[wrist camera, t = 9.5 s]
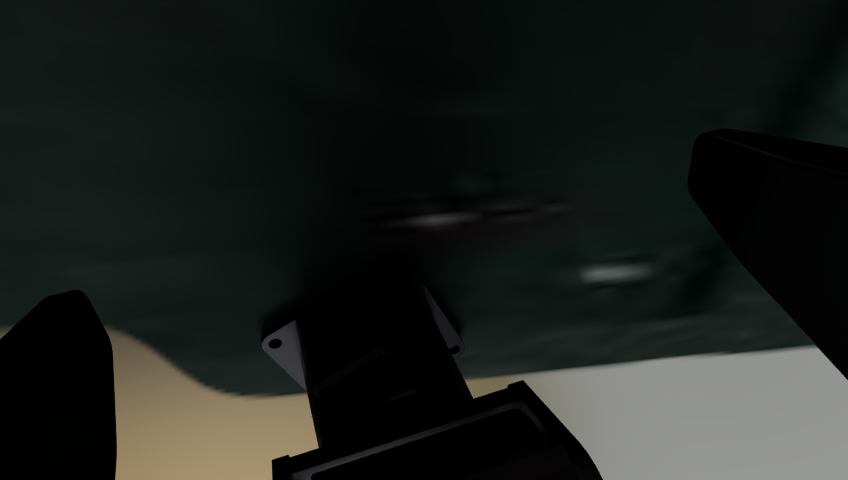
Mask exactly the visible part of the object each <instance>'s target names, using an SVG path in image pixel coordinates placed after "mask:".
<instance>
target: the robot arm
mask: <svg viewBox="0 0 848 480" xmlns="http://www.w3.org/2000/svg"><path fill="white" fill-rule="evenodd" d="M688 189H689V192H690V195H691V196H692V198H693V199H694V201H695V202H696V203H697V205H698V206H699V207H700V209H701V210H702V211H703V213H704V214H705V215H706V217H707V218H708V220H709V221H710V222H711V224H712V225H713V226H714V228H715V229H716V230H717V232H718V233H719V234H720V236H721V237H722V238H723V240H724V241H725V242H726V244H727V245H728V246H729V248H730V249H731V250H732V252H733V253H734V255H735V256H736V257H737V258H738V260H739V261H740V262H741V263H742V265H743V266H744V267H745V268H746V269H747V271H748V272H749V273H750V274H751V275H752V276H753V277H754V279H755V280H756V281H757V282H758V283H759V284H760V285H761V286H762V287H763V288H764V289H765V291H766V292H767V293H768V294H769V295H770V296H771V297H772V298H773V299H774V300H775V301H776V302H777V304H778V305H779V306H780V307H781V308H782V309H783V310H784V311H785V312H786V313H787V314H788V316H789V317H790V318H791V319H792V320H793V321H794V322H795V323H796V324H797V325H798V326H799V328H800V329H801V330H802V331H803V332H804V333H805V334H806V335H807V336H808V337H809V338H810V340H811V341H812V342H813V343H814V344H815V345H816V346H817V347H818V348H819V349H820V350H821V351H822V353H823V354H824V355H825V356H826V357H827V358H828V359H829V360H830V361H831V362H832V363H833V365H834V366H835V367H836V368H837V369H838V370H839V371H840V372H841V373H842V374H843V375H844V377H846V379H847V380H848V148H844V147H838V146H832V145H826V144H820V143H813V142H807V141H801V140H795V139H789V138H782V137H776V136H770V135H764V134H758V133H752V132H745V131H739V130H733V129H726V128H724V129H718V130H714V131H710V132H706V133H703V134H701V135H699V136H698V137H697V139H696V140H695V142H694V146H693V152H692V158H691V164H690V169H689V175H688ZM397 264H401V266H400V267H399V268H397V269H392V268H393V267H394V266H395V265H397ZM273 339H279V340H278V341H276V342H271V340H273ZM261 342H262V348H263V349H264V351H265V352H266V353H267V354H268V355H270V356H271V357H272V358H273V359H274V360H275V361H276V362H277V363H278V364H279V365H280V366H281V367H282V368H283V369H284V370H285V371H286V372H287V373H288V374H289V375H290V376H292V377H293V378H294V379H295V380H296V381H297V382H298V383H299V384H300V385H301V386H302V387H303V388H304V389H305V390H306V391H307V394H308V399H309V403H310V408H311V413H312V417H313V423H314V427H315V432H316V437H317V442H318V447H319V448H318V449H315V450H312V451H308V452H306V453H302V454H299V455H296V456H293V457H289V455H286V456H283V457H280V458H277V459H273V460H272V477H273V480H603V479H602V477H601V475H600V473H599V471H598V469H597V467H596V465H595V464H594V462H593V461H592V459H591V457H590V456H589V454H588V453H587V452H586V450H585V449H584V448H583V447H582V445H581V444H580V442H579V441H578V440H577V439H576V438H575V437H574V436H573V435H572V434H571V433H570V431H569V430H567V428H566V427H565V426H564V425H563V424H562V423H561V422H560V421H559V419H558V418H557V417H556V416H555V415H554V414H553V413H552V412H551V411H550V409H549V408H548V407H547V406H546V405H545V404H544V403H543V402H542V401H541V400H540V398H539V397H538V396H537V395H536V394H535V393H534V392H533V391H532V389H531V388H529V386H528V385H527V384H526V383H525V382H524V381H523V380H522V381H518V382H516V383H512V384H509V385H508V388H506V389H503V390H499V391H496V392H493V393H490V394H487V395H484V396H481V397H477V398H474V399H473V397H472V395H471V393H470V391H469V389H468V387H467V385H466V383H465V381H464V379H463V377H462V375H461V372H460V370H459V368H458V366H457V364H456V362H455V360H454V359H455V358H457V357H459V356H460V355H461V354H462V353H463V352H464V350H465V344H464V342H463V340H462V338H461V337H460V335H459V334H458V332H457V331H456V330H455V328H454V327H453V325H452V324H451V322H450V321H449V319H448V318H447V316H446V315H445V313H444V312H443V310H442V309H441V307H440V306H439V305H438V303H437V302H436V300H435V299H434V297H433V296H432V294H431V293H430V291H429V290H428V288H427V287H426V285H425V284H424V283H423V281H422V280H421V278H420V277H419V275H418V274H417V272H416V271H415V269H414V268H413V266H412V265H411V263H410V262H409V260H408V259H407V258H406V256H404V255H403V254H400V253H394V254H391V255H389V256H387V257H386V258H384V259H382V260H381V261H379V262H377V263H376V264H374V265H372V266H371V267H369V268H367V269H366V270H364V271H362V272H361V273H359V274H358V275H356V276H354V277H353V278H351V279H349V280H347V281H346V282H344V283H342V284H341V285H339V286H337V287H336V288H334V289H332V290H331V291H329V292H327V293H326V294H324V295H322V296H321V297H319V298H317V299H316V300H314V301H313V302H311V303H309V304H308V305H306V306H304V307H303V308H301V309H299V310H298V311H296V312H295V313H293V314H291V315H290V316H288V317H286V318H285V319H283V320H281V321H280V322H278V323H277V324H275V325H273V326H272V327H270V328H268V329H267V330H265V331H264V332H263V334H262V336H261ZM452 346H454V347H453V348H451V347H452ZM116 440H117V438H116V416H115V392H114V370H113V351H112V345H111V342H110V339H109V336H108V334H107V332H106V330H105V328H104V326H103V325H102V323H101V321H100V319H99V317H98V315H97V313H96V312H95V310H94V308H93V306H92V304H91V302H90V300H89V299H88V297H87V296H86V295H85V294H84V293H83V292H82V291H80V290H72V291H68V292H64V293H60V294H56V295H52V296H48V297H46V298H44V299H43V300H42V301H41V302H40V303H39V304H38V305H37V306H36V307H34V308H33V309H32V310H31V311H30V312H29V313H28V314H27V315H26V316H25V317H24V318H23V319H22V320H21V321H19V322H18V323H17V324H16V325H15V326H14V327H13V328H12V329H11V330H10V331H9V332H8V333H7V334H5V335H4V336H3V337H2V338H1V339H0V480H115V474H116V473H115V472H116V458H117V444H116V443H117V441H116Z"/></svg>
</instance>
